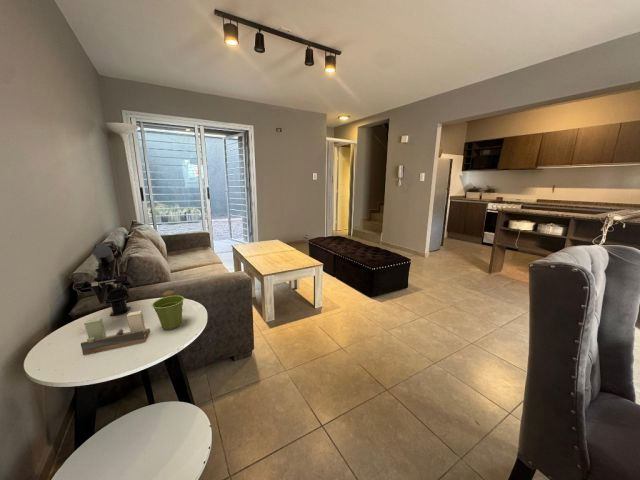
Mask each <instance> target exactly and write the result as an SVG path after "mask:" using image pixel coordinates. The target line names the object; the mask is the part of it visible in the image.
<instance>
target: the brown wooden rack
mask: <svg viewBox="0 0 640 480" xmlns="http://www.w3.org/2000/svg"><path fill="white" fill-rule="evenodd" d="M150 332H151V329H150V327H148V328H147V327H146V328H145V332H144V331H138V332H133V333H131V332H130V331H128V332H124V331H123V328H119V330H118V331H117V333H115V334H113V335H106V338H103V339H98V340H95V338H94V337H91V338H87V339H86V341H83V342H81V343H80V347H81V352H82V355H83V356H86V355H92V354H95V353H101V352H105V351H110V350H113V349H114V350H115V349H121V348H123V347H129V346H133V345H139V344H143V343H146V340H147V338H148V337H149V334H150Z"/></svg>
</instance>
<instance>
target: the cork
mask: <svg viewBox="0 0 640 480" xmlns="http://www.w3.org/2000/svg"><path fill="white" fill-rule="evenodd" d="M168 296H177V295H176V291H174V290H170V289H169V290H166V291H164V292H163V293H162V298H164V297H168Z"/></svg>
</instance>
